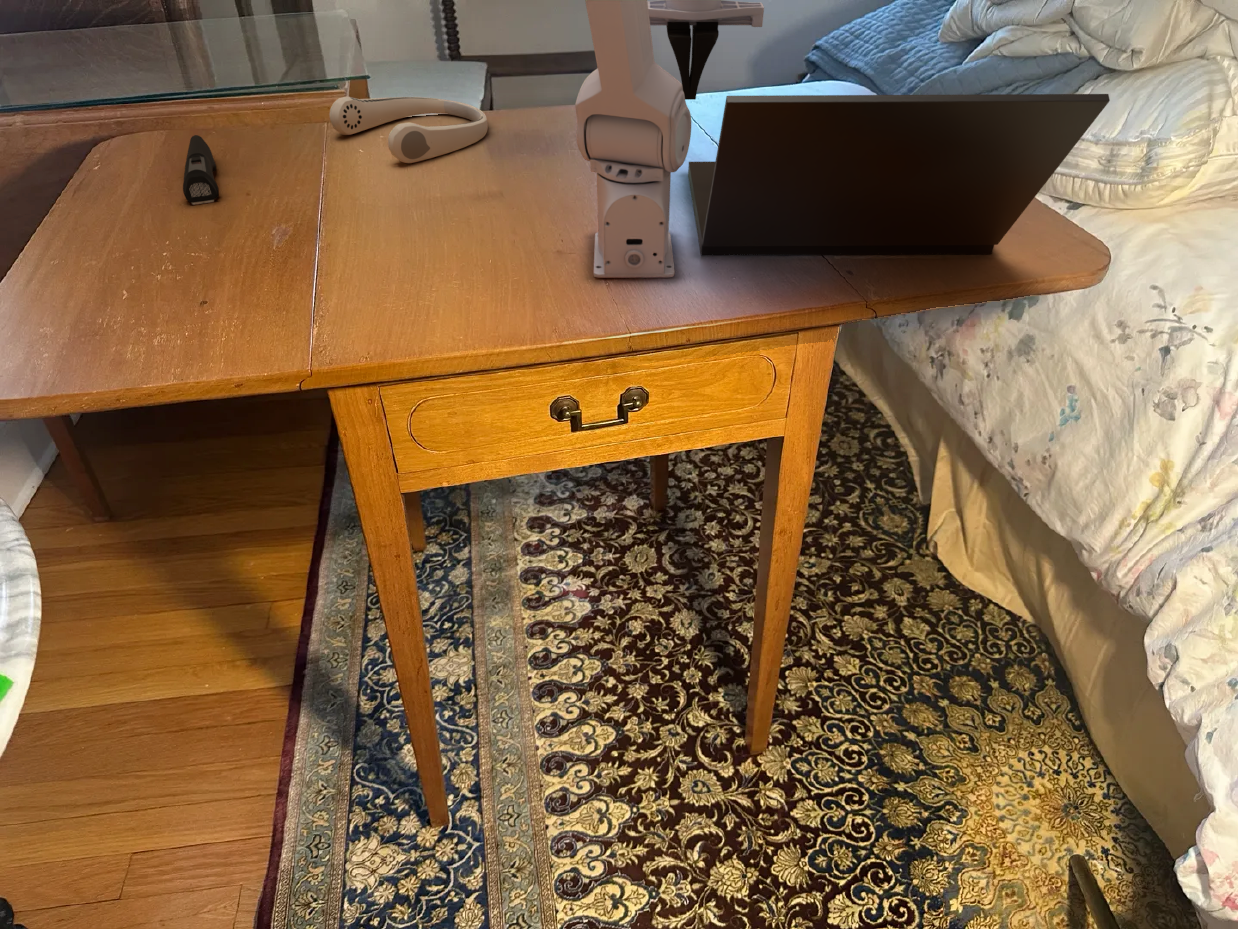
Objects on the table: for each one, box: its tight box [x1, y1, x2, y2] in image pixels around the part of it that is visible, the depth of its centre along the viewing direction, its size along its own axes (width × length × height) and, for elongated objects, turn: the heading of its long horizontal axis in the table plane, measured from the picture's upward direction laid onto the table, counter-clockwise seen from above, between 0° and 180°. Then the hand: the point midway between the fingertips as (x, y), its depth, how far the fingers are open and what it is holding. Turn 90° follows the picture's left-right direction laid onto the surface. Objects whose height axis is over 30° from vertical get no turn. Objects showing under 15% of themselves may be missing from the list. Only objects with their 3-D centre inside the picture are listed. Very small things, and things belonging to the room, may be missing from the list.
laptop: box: [687, 161, 995, 257], centre depth 96 cm, size 21×30×2 cm
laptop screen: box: [702, 93, 1111, 246], centre depth 77 cm, size 21×30×1 cm
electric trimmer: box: [182, 134, 220, 206], centre depth 104 cm, size 4×16×3 cm, turn 21°
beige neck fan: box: [329, 95, 489, 164], centre depth 114 cm, size 18×17×5 cm
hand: (688, 96), depth 95 cm, fingers closed
